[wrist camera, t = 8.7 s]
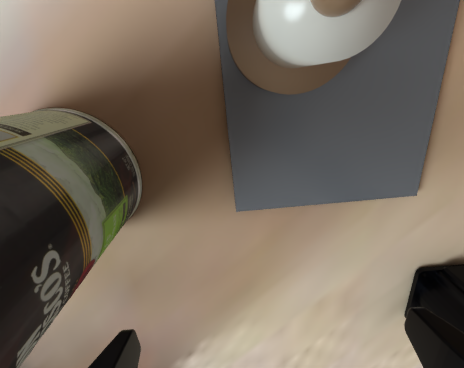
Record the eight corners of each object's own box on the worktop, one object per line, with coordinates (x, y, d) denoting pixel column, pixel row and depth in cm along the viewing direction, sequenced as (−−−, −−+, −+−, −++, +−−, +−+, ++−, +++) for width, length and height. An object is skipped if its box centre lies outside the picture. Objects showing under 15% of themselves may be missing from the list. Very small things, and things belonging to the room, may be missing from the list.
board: (411, 192, 20) (416, 195, 19) (236, 207, 20) (236, 211, 19) (467, -75, 13) (477, -81, 13) (210, -44, 14) (209, -50, 13)
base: (340, 86, 16) (359, 87, 14) (232, 97, 16) (232, 100, 14) (350, -54, 13) (376, -82, 11) (220, -39, 13) (218, -63, 11)
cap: (337, 64, 13) (418, 52, 7) (255, 72, 13) (273, 66, 8) (344, -42, 11) (456, -159, 6) (249, -31, 12) (268, -136, 6)
